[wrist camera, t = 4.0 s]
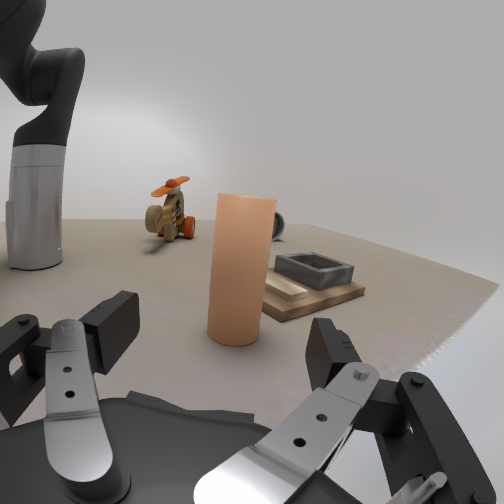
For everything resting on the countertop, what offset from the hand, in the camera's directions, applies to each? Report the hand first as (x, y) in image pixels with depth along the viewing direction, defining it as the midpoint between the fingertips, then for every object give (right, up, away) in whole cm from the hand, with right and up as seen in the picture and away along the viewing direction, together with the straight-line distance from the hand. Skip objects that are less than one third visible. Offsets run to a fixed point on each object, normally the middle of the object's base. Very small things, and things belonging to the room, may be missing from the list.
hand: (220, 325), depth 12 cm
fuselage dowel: (0, -4, +13) cm, 13 cm away
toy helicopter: (-16, +5, +45) cm, 48 cm away
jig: (+7, -2, +25) cm, 26 cm away
